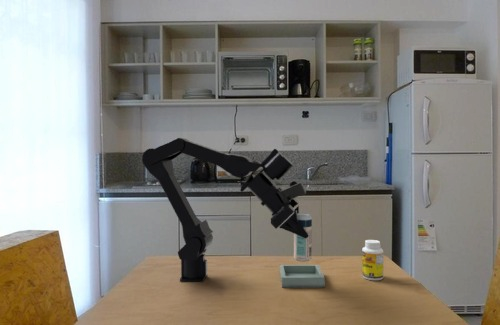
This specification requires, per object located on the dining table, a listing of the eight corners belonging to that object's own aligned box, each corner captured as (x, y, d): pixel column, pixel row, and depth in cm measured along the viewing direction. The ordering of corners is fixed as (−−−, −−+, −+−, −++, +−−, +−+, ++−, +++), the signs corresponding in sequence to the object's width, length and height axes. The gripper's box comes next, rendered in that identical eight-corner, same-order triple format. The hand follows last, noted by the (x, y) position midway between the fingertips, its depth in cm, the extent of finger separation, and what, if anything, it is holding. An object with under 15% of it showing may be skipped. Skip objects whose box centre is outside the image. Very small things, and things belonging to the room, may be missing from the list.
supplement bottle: (358, 276, 103) (357, 240, 103) (373, 273, 105) (373, 238, 105) (371, 282, 98) (371, 244, 98) (387, 279, 100) (387, 242, 100)
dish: (281, 287, 95) (281, 277, 95) (280, 273, 106) (279, 264, 106) (324, 287, 95) (324, 277, 95) (318, 273, 106) (318, 264, 106)
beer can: (308, 256, 100) (308, 212, 100) (314, 261, 95) (314, 215, 95) (291, 257, 99) (291, 213, 99) (296, 262, 95) (296, 216, 94)
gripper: (284, 173, 89) (330, 220, 87) (291, 169, 107) (329, 209, 105) (252, 204, 90) (297, 251, 88) (264, 196, 109) (301, 235, 107)
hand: (307, 235), depth 97 cm, fingers closed on beer can, 5 cm apart
